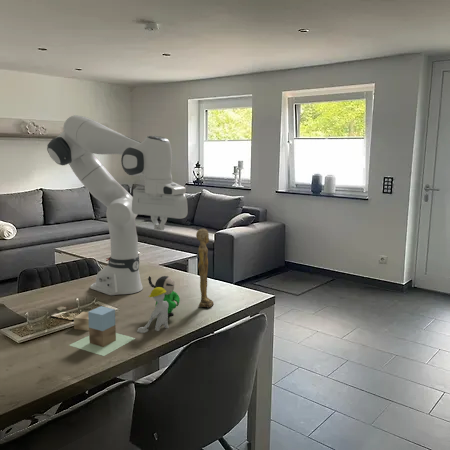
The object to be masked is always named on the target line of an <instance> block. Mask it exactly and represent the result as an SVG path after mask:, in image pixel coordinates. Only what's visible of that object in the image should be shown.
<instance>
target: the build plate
mask: <svg viewBox="0 0 450 450" xmlns="http://www.w3.org/2000/svg"><path fill="white" fill-rule="evenodd" d="M135 339H136V337H132V336H129V335H125V334H121V333H118V332H116V341H114V342H112V343H110V344H108V345H106V346H104V347H101V346H98V345H95V344H91V343H90V340H89V335H87V336H84V337H83V338H81V339H79V340H77V341H75V342H72V343H71V344H68V346H70V347H73V348H76V349H80V350H82V351H86V352H89V353H92V354H95V355H99V356H103V357H105V356H107V355H109V354H110V353H112V352H114V351H115V350H117V349H119V348H122V347H123V346H125V345H126V344H128V343H130V342H133V341H134V340H135Z"/></svg>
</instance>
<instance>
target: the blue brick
mask: <svg viewBox="0 0 450 450" xmlns="http://www.w3.org/2000/svg"><path fill="white" fill-rule="evenodd" d="M87 312H88V318H89V328H93V329H96V330H100V331H104V330H106V329H108V328H110V327H112V326H114V325H116V309H115V308H111V307H106V306H102V305H100V306H98V307H96V308H93V309H90V310H88V311H87Z"/></svg>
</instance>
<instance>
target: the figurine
mask: <svg viewBox="0 0 450 450" xmlns="http://www.w3.org/2000/svg"><path fill="white" fill-rule="evenodd" d="M165 292H166V290H165V289H164V288H161V287H156V288H154V287H153V289H152V291H151V292H150V295H148V298H153V299H154V301H155V302H156V301H157V304H156V303H155V306H156V307H154V309H153V311H152V313H151V314H150V318H149V320H148V321H147V323H146V324H145V325H144V326H141V327H138V328H137V330H136V332H137V333H140V334H141V333H142V334H143V333H147V332H149V327H150V325H151V324H152V322H153V320H154V319H156V323H155V326H154V331H156V332H159V331H161V330H160V329H161V326H163V327H164V328H165V329H169V328H170V327H169V322H168V321H169V316H168V302H167V301H163V299H164V296H165Z"/></svg>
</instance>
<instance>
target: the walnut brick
mask: <svg viewBox="0 0 450 450" xmlns="http://www.w3.org/2000/svg"><path fill="white" fill-rule="evenodd" d="M116 326H117V325H116V324H115V325H114V326H112V327H110V328H108V329H106V330H104V331H100V330H96V329H93V328H89V331H88V334H89V335H88V336H89V340H90V343H91V344H95V345H98V346H101V347H104V346H106V345H108V344H110V343H112V342H114V341H116V333H117V330H116Z"/></svg>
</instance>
